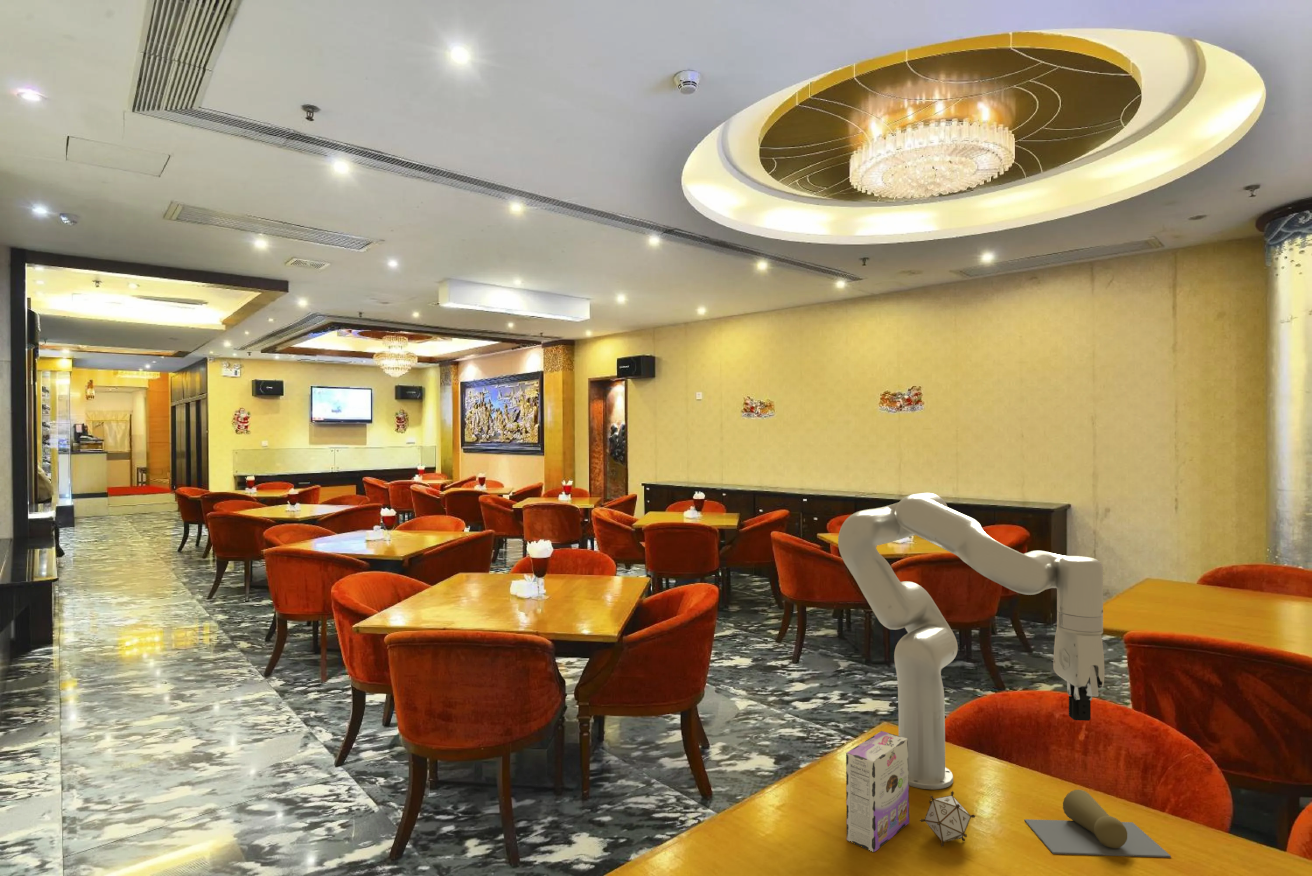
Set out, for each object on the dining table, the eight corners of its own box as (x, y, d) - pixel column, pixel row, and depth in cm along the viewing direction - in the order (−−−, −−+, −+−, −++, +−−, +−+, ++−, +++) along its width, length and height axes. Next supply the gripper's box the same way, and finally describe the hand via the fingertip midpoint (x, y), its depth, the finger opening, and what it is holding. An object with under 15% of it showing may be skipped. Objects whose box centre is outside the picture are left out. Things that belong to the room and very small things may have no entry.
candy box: (881, 813, 139) (881, 729, 139) (910, 824, 135) (909, 738, 135) (845, 840, 130) (844, 750, 130) (874, 853, 125) (873, 760, 126)
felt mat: (1052, 853, 125) (1052, 852, 125) (1024, 821, 136) (1024, 819, 136) (1170, 857, 124) (1170, 855, 124) (1132, 824, 135) (1132, 822, 135)
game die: (958, 865, 128) (983, 838, 122) (912, 843, 130) (934, 816, 124) (959, 820, 135) (982, 793, 130) (915, 800, 137) (936, 772, 131)
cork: (1056, 805, 136) (1093, 838, 125) (1078, 783, 136) (1117, 813, 125) (1078, 827, 136) (1117, 861, 125) (1099, 804, 136) (1140, 837, 125)
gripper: (1040, 612, 142) (1040, 703, 142) (1080, 632, 127) (1080, 734, 127) (1079, 613, 142) (1079, 704, 141) (1123, 633, 127) (1123, 735, 127)
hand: (1079, 718), depth 134 cm, fingers closed
